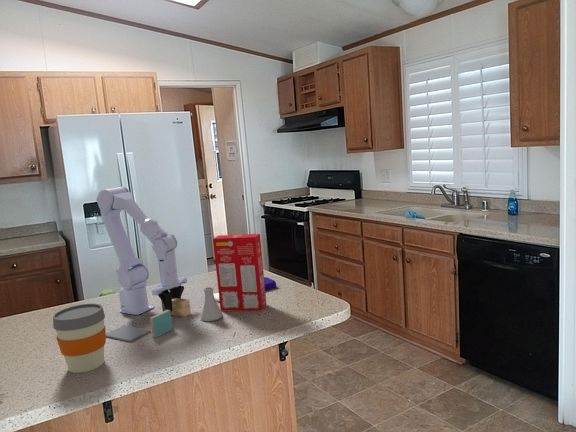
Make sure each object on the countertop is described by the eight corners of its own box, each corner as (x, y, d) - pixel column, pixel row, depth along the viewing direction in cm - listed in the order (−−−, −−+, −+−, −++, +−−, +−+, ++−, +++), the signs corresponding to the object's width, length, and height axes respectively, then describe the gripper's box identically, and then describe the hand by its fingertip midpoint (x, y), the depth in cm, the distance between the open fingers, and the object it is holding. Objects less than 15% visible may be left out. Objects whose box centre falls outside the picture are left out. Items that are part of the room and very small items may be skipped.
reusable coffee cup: (116, 364, 124) (109, 310, 122) (65, 381, 117) (56, 324, 114) (104, 350, 134) (97, 299, 132) (56, 364, 127) (48, 312, 125)
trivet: (103, 336, 144) (103, 334, 144) (124, 326, 151) (124, 325, 151) (130, 342, 138) (130, 340, 138) (151, 331, 145) (150, 330, 145)
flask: (218, 322, 148) (215, 291, 147) (197, 322, 150) (193, 292, 148) (225, 313, 156) (222, 284, 154) (205, 313, 157) (202, 285, 155)
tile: (152, 336, 141) (149, 317, 140) (169, 328, 147) (166, 309, 146) (156, 337, 140) (153, 318, 139) (172, 328, 146) (170, 310, 145)
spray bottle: (265, 275, 187) (207, 290, 175) (278, 281, 178) (218, 297, 166) (265, 283, 188) (208, 298, 176) (279, 288, 178) (219, 305, 166)
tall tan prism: (162, 313, 161) (161, 299, 160) (169, 310, 163) (167, 296, 162) (184, 316, 155) (182, 302, 155) (190, 313, 158) (189, 299, 157)
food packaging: (266, 304, 160) (259, 233, 157) (262, 310, 155) (255, 236, 152) (225, 305, 164) (218, 235, 160) (220, 310, 159) (212, 238, 155)
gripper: (161, 277, 150) (166, 318, 152) (191, 265, 162) (196, 303, 164) (145, 276, 153) (150, 315, 155) (176, 264, 165) (181, 301, 168)
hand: (173, 309), depth 160 cm, fingers closed on tall tan prism, 3 cm apart
